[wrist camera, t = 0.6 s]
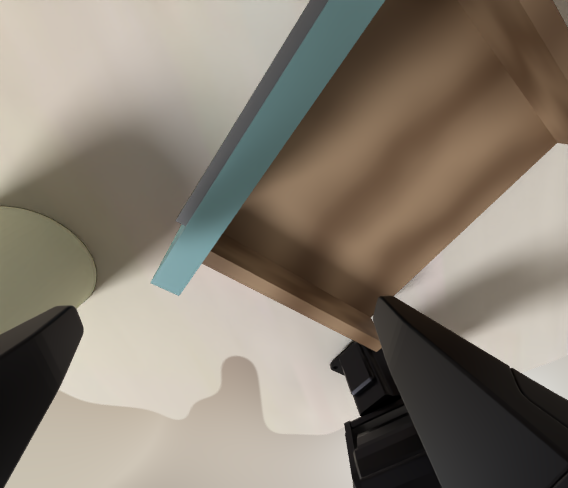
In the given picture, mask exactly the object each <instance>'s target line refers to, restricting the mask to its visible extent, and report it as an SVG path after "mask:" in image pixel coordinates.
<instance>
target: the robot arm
mask: <svg viewBox="0 0 568 488" xmlns="http://www.w3.org/2000/svg"><path fill="white" fill-rule="evenodd" d="M373 322H374V325H375V328H376V331H377V335H378V338H379V341H380V344H381V347H382V348H381V349H380V350H378V351H377V352H375V351H373V350H371V349H370V348H368V347H366V346H364V345H362V344H360V343H358V342H356V341H354V342H353V343H352V344H351V345H350V346H349V347H348V348H347V349H345V350H344V351H343V352H342V353H341V354H340V355H339V356H338V357H337V358H336V359H335V360H334V361H332V362H331V364H330V367H331V370H333V371H335V372H338V373H340V374H342V375H344V376H345V377H346V380H347V383H348V386H349V389H350V392H351V394H352V395H353V397H354V400H355V403H356V406H357V409H358V412H359V414H360V416H361V417H359V418H357V419H355V420H353V421H351V422H350V421H348V422H346V423H344V425H345V431H346V433H345V436H346V442H347V449H348V455H349V462H350V468H351V474H352V479H353V488H568V400H567V399H565V398H563V397H561V396H559V395H557V394H556V393H554V392H552V391H550V390H549V389H547V388H545V387H544V386H542V385H540V384H538V383H537V382H535V381H533V380H531V379H530V378H528V377H527V376H525V375H523V374H522V373H520V372H518V371H517V370H515V369H514V368H510V367H509V366H508V365H507V364H505V363H503V362H502V361H500V360H498V359H497V358H495V357H493V356H492V355H490V354H488V353H487V352H485V351H483V350H482V349H480V348H478V347H477V346H475V345H473V344H472V343H470V342H468V341H467V340H465V339H463V338H462V337H460V336H459V335H457V334H455V333H454V332H452V331H450V330H449V329H447V328H445V327H444V326H442V325H440V324H439V323H437V322H435V321H434V320H432V319H430V318H429V317H427V316H425V315H424V314H422V313H420V312H419V311H417V310H415V309H414V308H412V307H410V306H409V305H407V304H405V303H404V302H402V301H400V300H399V299H397V298H395V297H394V296H391V295H387V296H379V297H378V299H377V302H376V306H375V310H374V314H373ZM83 330H84V329H83V325H82V322H81V319H80V317H79V314H78V312H77V309H76V308H75V307H74V306H72V305H62V306H55V307H53V308H51V309H49V310H47V311H45V312H43V313H41V314H39V315H37V316H35V317H33V318H31V319H29V320H28V321H26V322H24V323H22V324H20V325H18V326H16V327H14V328H12V329H10V330H8V331H6V332H4V333H2V334H0V488H4V487H5V485H6V483H7V481H8V480H9V478H10V476H11V474H12V472H13V471H14V468H15V467H16V465H17V463H18V462H19V460H20V458H21V456H22V454H23V453H24V451H25V449H26V447H27V446H28V444H29V442H30V440H31V438H32V436H33V435H34V433H35V431H36V429H37V428H38V426H39V424H40V422H41V421H42V419H43V417H44V415H45V413H46V412H47V410H48V408H49V406H50V404H51V403H52V401H53V399H54V397H55V395H56V393H57V392H58V390H59V388H60V386H61V384H62V381H63V379H64V377H65V375H66V373H67V370H68V368H69V366H70V363H71V361H72V359H73V356H74V354H75V352H76V350H77V347H78V345H79V343H80V340H81V338H82V336H83Z"/></svg>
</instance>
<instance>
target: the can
mask: <svg viewBox="0 0 568 488" xmlns="http://www.w3.org/2000/svg"><path fill="white" fill-rule="evenodd" d="M95 284H96V267H95V264H94V261H93V259H92V256H91V255H90V253H89V251H88V250H87V248H86V247H85V245H84V244H83V243H82V242H81V241H80V240H79V239H78V238H77V237H76V236H75V235H74V234H73V233H72V232H70V231H69V230H68V229H67V228H65V227H64V226H62V225H61V224H59V223H58V222H56V221H54V220H52V219H50V218H48V217H46V216H44V215H41V214H38V213H36V212H33V211H29V210H26V209H21V208H15V207H6V206H0V334H2V333H4V332H6V331H8V330H10V329H12V328H14V327H16V326H18V325H20V324H22V323H24V322H26V321H28V320H29V319H31V318H33V317H35V316H37V315H39V314H41V313H43V312H45V311H47V310H49V309H51V308H53V307H55V306H62V305H72V306H74V307H75V308H76V309H77V308H78V307H79V306H80V305H81V304H82V303H83V302H85V301H86V300H87V299H88V298H89V296H90V295H91V294H92V292H93V290H94V287H95Z"/></svg>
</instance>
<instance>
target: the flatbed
mask: <svg viewBox="0 0 568 488" xmlns="http://www.w3.org/2000/svg"><path fill="white" fill-rule="evenodd" d="M557 143H562V144H568V28H567V26H566V24H565V22H564V20H563V18H562V16H561V15H560V13H559V11H558V9H557V7H556V5H555V4H554V2H553V0H385V1H384V3H383V4H382V6H381V7H380V8H379V10H378V11H377V13H376V14H375V16H374V17H373V18H372V20H371V21H370V23H369V24H368V26H367V27H366V28H365V30H364V31H363V33H362V34H361V36H360V37H359V39H358V40H357V41H356V43H355V44H354V46H353V47H352V49H351V50H350V51H349V53H348V54H347V56H346V57H345V59H344V60H343V61H342V63H341V64H340V66H339V67H338V69H337V70H336V72H335V73H334V74H333V76H332V77H331V79H330V80H329V82H328V83H327V84H326V86H325V87H324V89H323V90H322V92H321V93H320V94H319V96H318V97H317V99H316V100H315V102H314V103H313V105H312V106H311V107H310V109H309V110H308V112H307V113H306V115H305V116H304V117H303V119H302V120H301V122H300V123H299V125H298V126H297V127H296V129H295V130H294V132H293V133H292V135H291V136H290V138H289V139H288V140H287V142H286V143H285V145H284V146H283V148H282V149H281V150H280V152H279V153H278V155H277V156H276V158H275V159H274V160H273V162H272V163H271V165H270V166H269V168H268V169H267V171H266V172H265V173H264V175H263V176H262V178H261V179H260V181H259V182H258V183H257V185H256V186H255V188H254V189H253V191H252V192H251V193H250V195H249V196H248V198H247V199H246V201H245V202H244V204H243V205H242V206H241V208H240V209H239V211H238V212H237V214H236V215H235V216H234V218H233V219H232V221H231V222H230V224H229V225H228V226H227V228H226V229H225V231H224V232H223V234H222V235H221V237H220V238H219V239H218V241H217V242H216V244H215V245H214V247H213V248H212V249H211V251H210V252H209V254H208V255H207V257H206V258H205V259H204V261H203V262H202V264H204V265H206V266H208V267H210V268H212V269H214V270H216V271H218V272H220V273H222V274H224V275H226V276H228V277H230V278H232V279H234V280H236V281H238V282H239V283H241V284H243V285H245V286H247V287H249V288H251V289H253V290H255V291H257V292H259V293H261V294H263V295H265V296H267V297H269V298H271V299H273V300H275V301H277V302H279V303H281V304H283V305H285V306H287V307H289V308H291V309H293V310H295V311H297V312H299V313H301V314H303V315H304V316H306V317H308V318H310V319H312V320H314V321H316V322H318V323H320V324H322V325H324V326H326V327H328V328H330V329H332V330H334V331H336V332H338V333H340V334H342V335H344V336H346V337H348V338H350V339H352V340H354V341H356V342H358V343H360V344H362V345H364V346H366V347H368V348H370V349H371V350H373V351H375V352H377V351H378V350H380V349H381V348H382V347H381V344H380V341H379V338H378V335H377V331H376V328H375V325H374V323H373V321H372V319H371V317H372V316H373V314H374V310H375V306H376V302H377V299H378V297H379V296H387V295H391V296H394V295H395V294H396V293H397V292H398V291H399V290H400V289H402V288H403V287H404V286H405V285H406V284H407V283H408V282H409V281H410V280H411V279H412V278H413V277H414V276H415V275H416V274H418V273H419V272H420V271H421V270H422V269H423V268H424V267H425V266H426V265H427V264H428V263H429V262H430V261H431V260H433V259H434V258H435V257H436V256H437V255H438V254H439V253H440V252H441V251H442V250H443V249H444V248H445V247H446V246H447V245H449V244H450V243H451V242H452V241H453V240H454V239H455V238H456V237H457V236H458V235H459V234H460V233H461V232H462V231H464V230H465V229H466V228H467V227H468V226H469V225H470V224H471V223H472V222H473V221H474V220H475V219H476V218H477V217H478V216H480V215H481V214H482V213H483V212H484V211H485V210H486V209H487V208H488V207H489V206H490V205H491V204H492V203H493V202H495V201H496V200H497V199H498V198H499V197H500V196H501V195H502V194H503V193H504V192H505V191H506V190H507V189H508V188H509V187H511V186H512V185H513V184H514V183H515V182H516V181H517V180H518V179H519V178H520V177H521V176H522V175H523V174H524V173H526V172H527V171H528V170H529V169H530V168H531V167H532V166H533V165H534V164H535V163H536V162H537V161H538V160H539V159H540V158H542V157H543V156H544V155H545V154H546V153H547V152H548V151H549V150H550V149H551V148H552V147H553V146H554V145H555V144H557Z"/></svg>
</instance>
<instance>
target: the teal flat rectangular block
mask: <svg viewBox="0 0 568 488" xmlns="http://www.w3.org/2000/svg"><path fill="white" fill-rule="evenodd" d="M384 1H385V0H310V1H309V3H308V5H307V6H306V8H305V10H304V11H303V13H302V14H301V16H300V18H299V19H298V21H297V23H296V24H295V26H294V28H293V29H292V31H291V32H290V34H289V36H288V37H287V39H286V41H285V42H284V44H283V46H282V47H281V49H280V50H279V52H278V54H277V55H276V57H275V59H274V60H273V62H272V64H271V65H270V67H269V68H268V70H267V72H266V73H265V75H264V77H263V78H262V80H261V82H260V83H259V85H258V86H257V88H256V90H255V91H254V93H253V95H252V96H251V98H250V100H249V101H248V103H247V104H246V106H245V108H244V109H243V111H242V113H241V114H240V116H239V118H238V119H237V121H236V122H235V124H234V126H233V127H232V129H231V131H230V132H229V134H228V136H227V137H226V139H225V140H224V142H223V144H222V145H221V147H220V149H219V150H218V152H217V154H216V155H215V157H214V158H213V160H212V162H211V163H210V165H209V167H208V168H207V170H206V172H205V173H204V175H203V176H202V178H201V180H200V181H199V183H198V185H197V186H196V188H195V190H194V191H193V193H192V194H191V196H190V198H189V199H188V201H187V203H186V204H185V206H184V208H183V209H182V211H181V212H180V214H179V216H178V217H177V219H176V221H177V222H179V223H180V224H182V225H181V227H180V228H179V230H178V232H177V234H176V236H175V238H174V240H173V242H172V243H171V245H170V247H169V249H168V251H167V253H166V255H165V257H164V258H163V260H162V262H161V264H160V266H159V268H158V270H157V272H156V273H155V275H154V277H153V279H152V281H151V284H154V285H156V286H158V287H160V288H163V289H165V290H167V291H169V292H172V293H174V294H176V295H178V296H179V295H180V294H181V292H182V291H183V290H184V288H185V287H186V285H187V284H188V282H189V281H190V280H191V278H192V277H193V275H194V274H195V272H196V271H197V269H198V268H199V267H200V265H201V264H202V262H203V261H204V259H205V258H206V257H207V255H208V254H209V252H210V251H211V249H212V248H213V247H214V245H215V244H216V242H217V241H218V239H219V238H220V237H221V235H222V234H223V232H224V231H225V229H226V228H227V226H228V225H229V224H230V222H231V221H232V219H233V218H234V216H235V215H236V214H237V212H238V211H239V209H240V208H241V206H242V205H243V204H244V202H245V201H246V199H247V198H248V196H249V195H250V193H251V192H252V191H253V189H254V188H255V186H256V185H257V183H258V182H259V181H260V179H261V178H262V176H263V175H264V173H265V172H266V171H267V169H268V168H269V166H270V165H271V163H272V162H273V160H274V159H275V158H276V156H277V155H278V153H279V152H280V150H281V149H282V148H283V146H284V145H285V143H286V142H287V140H288V139H289V138H290V136H291V135H292V133H293V132H294V130H295V129H296V127H297V126H298V125H299V123H300V122H301V120H302V119H303V117H304V116H305V115H306V113H307V112H308V110H309V109H310V107H311V106H312V105H313V103H314V102H315V100H316V99H317V97H318V96H319V94H320V93H321V92H322V90H323V89H324V87H325V86H326V84H327V83H328V82H329V80H330V79H331V77H332V76H333V74H334V73H335V72H336V70H337V69H338V67H339V66H340V64H341V63H342V61H343V60H344V59H345V57H346V56H347V54H348V53H349V51H350V50H351V49H352V47H353V46H354V44H355V43H356V41H357V40H358V39H359V37H360V36H361V34H362V33H363V31H364V30H365V28H366V27H367V26H368V24H369V23H370V21H371V20H372V18H373V17H374V16H375V14H376V13H377V11H378V10H379V8H380V7H381V6H382V4H383V3H384Z"/></svg>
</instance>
